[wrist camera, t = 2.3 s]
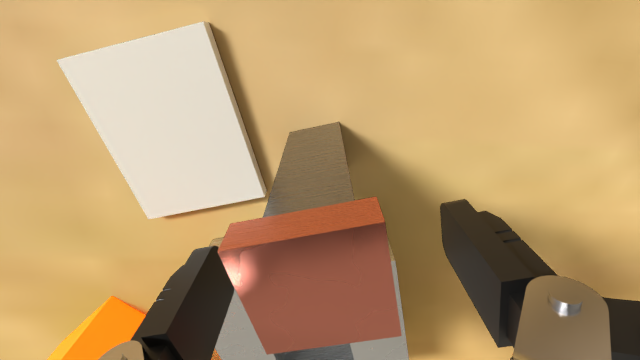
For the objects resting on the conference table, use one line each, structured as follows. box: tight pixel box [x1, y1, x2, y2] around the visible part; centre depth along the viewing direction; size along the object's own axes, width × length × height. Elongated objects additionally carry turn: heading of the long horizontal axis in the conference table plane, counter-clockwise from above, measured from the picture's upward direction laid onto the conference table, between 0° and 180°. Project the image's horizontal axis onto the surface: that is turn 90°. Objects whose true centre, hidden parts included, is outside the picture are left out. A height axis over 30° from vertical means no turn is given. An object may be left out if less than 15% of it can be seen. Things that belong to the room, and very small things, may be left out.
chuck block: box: [209, 236, 409, 360], centre depth 21 cm, size 12×12×5 cm
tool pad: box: [57, 22, 267, 219], centre depth 17 cm, size 10×8×1 cm
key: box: [217, 122, 402, 355], centre depth 13 cm, size 4×4×11 cm
